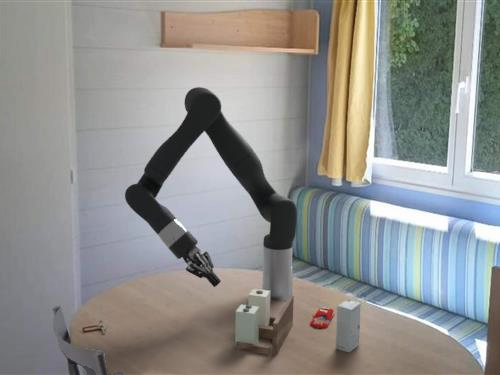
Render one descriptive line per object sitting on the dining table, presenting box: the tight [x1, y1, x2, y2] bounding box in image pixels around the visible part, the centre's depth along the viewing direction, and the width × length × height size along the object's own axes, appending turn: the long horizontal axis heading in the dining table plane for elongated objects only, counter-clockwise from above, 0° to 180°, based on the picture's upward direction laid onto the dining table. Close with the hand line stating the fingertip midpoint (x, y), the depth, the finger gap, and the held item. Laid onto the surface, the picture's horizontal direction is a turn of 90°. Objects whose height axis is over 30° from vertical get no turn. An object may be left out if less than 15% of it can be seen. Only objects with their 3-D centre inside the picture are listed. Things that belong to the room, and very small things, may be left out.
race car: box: [309, 306, 335, 330], centre depth 185 cm, size 13×5×4 cm, turn 159°
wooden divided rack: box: [235, 295, 295, 356], centre depth 173 cm, size 15×19×10 cm
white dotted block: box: [247, 288, 271, 327], centre depth 179 cm, size 5×5×10 cm
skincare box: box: [335, 299, 362, 353], centre depth 170 cm, size 6×4×12 cm
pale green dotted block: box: [234, 304, 260, 348], centre depth 167 cm, size 5×5×10 cm
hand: (217, 284), depth 181 cm, fingers closed
